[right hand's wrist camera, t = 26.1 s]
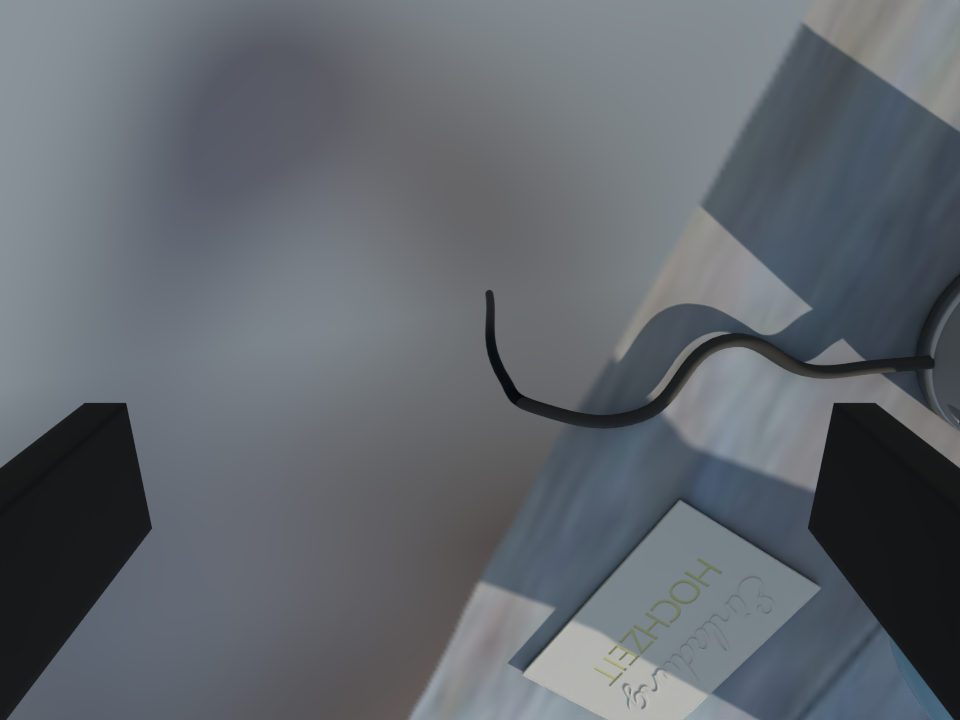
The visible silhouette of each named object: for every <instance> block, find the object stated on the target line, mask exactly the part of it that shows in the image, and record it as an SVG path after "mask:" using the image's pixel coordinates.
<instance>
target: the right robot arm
mask: <svg viewBox="0 0 960 720" xmlns="http://www.w3.org/2000/svg"><path fill="white" fill-rule="evenodd" d="M485 296H486V324H485V340H486V348H487V354H488V357H489V360H490V363H491V366H492V368H493V370H494V373H495V375H496V376H497V378H498V380H499V382H500V384H501V386H502V388H503V390H504V392H505V394H506V396H507V397H508V399H509V400H510V401H511V402H512V403H513V404H514V405H515V406H517V407H519V408H521V409H523V410H525V411H528V412H531V413H534V414H537V415H540V416H544V417H547V418H550V419H553V420H557V421H560V422H564V423H568V424H572V425H577V426H583V427H590V428H617V427H624V426H628V425H633V424H636V423H640V422H643V421H645V420H648V419H650V418H652V417H654V416H655V415H657V414H658V413H660V412H661V411H663V410H664V409H665V408H666V407H667V406H668V405H669V404H670V403H671V402H672V401H673V400H674V398H675V397H676V396H677V395H678V393H679V392H680V391H681V389H682V388H683V386H684V385H685V383H686V382H687V381H688V379H689V378H690V376H691V375H692V373H693V372H694V371H695V370H696V368H697V367H698V366H699V365H700V364H701V363H702V362H703V361H704V360H705V359H706V358H707V357H708V356H710V355H711V354H713V353H715V352H717V351H719V350H722V349H725V348H730V347H745V348H749V349H751V350H754V351H756V352H758V353H760V354H761V355H763V356H765V357H766V358H768V359H769V360H771V361H772V362H774V363H775V364H777V365H779V366H780V367H782V368H784V369H786V370H788V371H790V372H792V373H795V374H798V375H801V376H806V377H812V378H823V379H830V378H843V377H851V376H858V375H865V374H875V373H887V372H900V371H912V370H917V375H918V380H919V385H920V388H921V391H922V393H923V395H924V397H925V399H926V401H927V403H928V404H929V406H930V407H931V408H932V410H933V411H934V412H935V413H936V414H937V415H938V416H939V417H940V418H941V419H943V420H944V421H945V422H947V423H948V424H950V425H951V426H952V427H954V428H955V429H957V430H958V431H960V276H959V277H958V278H957V279H956V280H955V281H954V282H953V283H952V284H951V285H950V286H949V287H948V289H947V290H946V291H945V292H944V294H943V295H942V296H941V297H940V299H939V300H938V302H937V303H936V305H935V306H934V308H933V310H932V311H931V313H930V315H929V317H928V319H927V321H926V324H925V326H924V328H923V331H922V334H921V337H920V341H919V345H918V352H917V357H905V358H893V359H881V360H869V361H860V362H853V363H846V364H839V365H813V364H807V363H804V362H801V361H799V360H796V359H794V358H792V357H791V356H789V355H787V354H786V353H784V352H782V351H781V350H779V349H778V348H776V347H775V346H773V345H772V344H770V343H768V342H767V341H765V340H763V339H761V338H758V337H755V336H752V335H748V334H739V333H732V334H725V335H721V336H718V337H715V338H712V339H710V340H708V341H706V342H705V343H703V344H701V345H700V346H699V347H698V348H696V349H695V350H694V351H693V352H692V353H691V354H690V355H689V356H688V357H687V358H686V360H685V361H684V362H683V364H682V365H681V366H680V368H679V369H678V371H677V372H676V374H675V375H674V377H673V378H672V379H671V381H670V382H669V384H668V385H667V386H666V388H665V389H664V390H663V391H662V393H661V394H660V395H659V396H658V397H657V398H656V399H655V400H654V401H652V402H651V403H649V404H648V405H646V406H644V407H642V408H639V409H637V410H634V411H630V412H626V413H621V414H614V415H591V414H584V413H578V412H574V411H570V410H566V409H562V408H558V407H555V406H552V405H548V404H545V403H542V402H538V401H535V400H532V399H530V398H528V397H526V396H524V395H522V394H521V393H520V392H518V390H517V389H516V387H515V385H514V383H513V381H512V380H511V378H510V376H509V375H508V373H507V372H506V370H505V368H504V366H503V363H502V361H501V359H500V356H499V353H498V350H497V345H496V339H495V301H494V294H493V291H491V290H487V291H486V293H485ZM151 529H152V526H151V521H150V516H149V511H148V506H147V502H146V497H145V492H144V487H143V482H142V478H141V473H140V468H139V463H138V458H137V453H136V449H135V444H134V439H133V434H132V429H131V424H130V420H129V415H128V410H127V405H126V403H84V404H83V405H82V406H80V407H79V408H78V409H76V410H75V411H74V412H72V413H71V414H70V415H69V416H67V417H66V418H65V419H63V420H62V421H61V422H60V423H58V424H57V425H56V426H54V427H53V428H52V429H50V430H49V431H48V432H47V433H45V434H44V435H43V436H42V437H40V438H39V439H38V440H36V441H35V442H34V443H32V444H31V445H30V446H28V447H27V448H26V449H25V450H23V451H22V452H21V453H19V454H18V455H17V456H16V457H14V458H13V459H12V460H10V461H9V462H8V463H7V464H5V465H4V466H3V467H1V468H0V720H6V719H7V718H8V717H9V716H10V714H11V713H12V712H13V710H14V709H15V708H16V706H17V705H18V704H19V702H20V701H21V700H22V698H23V697H24V696H25V694H26V693H27V692H28V691H29V689H30V688H31V687H32V685H33V684H34V683H35V681H36V680H37V679H38V677H39V676H40V675H41V674H42V672H43V671H44V670H45V668H46V667H47V666H48V664H49V663H50V662H51V660H52V659H53V658H54V656H55V655H56V654H57V652H58V651H59V650H60V648H61V647H62V646H63V645H64V643H65V642H66V641H67V639H68V638H69V637H70V635H71V634H72V633H73V631H74V630H75V629H76V628H77V626H78V625H79V624H80V622H81V621H82V620H83V618H84V617H85V616H86V614H87V613H88V612H89V610H90V609H91V608H92V607H93V605H94V604H95V603H96V601H97V600H98V599H99V597H100V596H101V595H102V593H103V592H104V591H105V589H106V588H107V587H108V585H109V584H110V583H111V582H112V580H113V579H114V578H115V576H116V575H117V574H118V572H119V571H120V570H121V568H122V567H123V566H124V564H125V563H126V562H127V561H128V559H129V558H130V557H131V555H132V554H133V553H134V551H135V550H136V549H137V547H138V546H139V545H140V544H141V542H142V541H143V540H144V538H145V537H146V536H147V534H148V533H149V532H150V530H151ZM808 529H809V530H810V532H811V533H812V534H813V536H814V537H815V538H816V540H817V541H818V542H819V544H820V545H821V546H822V547H823V549H824V550H825V551H826V553H827V554H828V555H829V557H830V558H831V559H832V561H833V562H834V563H835V565H836V566H837V567H838V568H839V570H840V571H841V572H842V574H843V575H844V576H845V578H846V579H847V580H848V582H849V583H850V584H851V586H852V587H853V588H854V589H855V591H856V592H857V593H858V595H859V596H860V597H861V599H862V600H863V601H864V603H865V604H866V605H867V607H868V608H869V609H870V610H871V612H872V613H873V614H874V616H875V617H876V618H877V620H878V621H879V622H880V624H881V625H882V626H883V628H884V629H885V630H886V631H887V633H888V634H889V635H890V644H891V648H892V652H893V654H894V657H895V660H896V662H897V665H898V667H899V669H900V671H901V673H902V675H903V677H904V678H905V680H906V682H907V684H908V686H909V687H910V689H911V691H912V692H913V694H914V696H915V697H916V699H917V700H918V702H919V703H920V705H921V706H922V708H923V709H924V711H925V712H926V713H927V715H928V716H929V718H930V719H931V720H960V468H959V467H957V466H956V465H955V464H954V463H952V462H951V461H950V460H948V459H947V458H946V457H944V456H943V455H942V454H941V453H939V452H938V451H937V450H935V449H934V448H933V447H932V446H930V445H929V444H928V443H926V442H925V441H924V440H922V439H921V438H920V437H919V436H917V435H916V434H915V433H913V432H912V431H911V430H910V429H908V428H907V427H906V426H904V425H903V424H902V423H900V422H899V421H898V420H897V419H895V418H894V417H893V416H891V415H890V414H889V413H888V412H886V411H885V410H884V409H882V408H881V407H880V406H878V405H877V404H876V403H834V405H833V410H832V415H831V420H830V424H829V429H828V434H827V439H826V444H825V449H824V453H823V458H822V463H821V468H820V473H819V478H818V482H817V487H816V492H815V497H814V502H813V506H812V511H811V516H810V521H809V526H808Z"/></svg>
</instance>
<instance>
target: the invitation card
mask: <svg viewBox="0 0 960 720" xmlns="http://www.w3.org/2000/svg"><path fill="white" fill-rule="evenodd" d="M820 589H821V587H820V586H818V585H817V584H815V583H813V582H812V581H810V580H809V579H807V578H805V577H804V576H802V575H801V574H799V573H797V572H796V571H794V570H793V569H791V568H789V567H788V566H786V565H785V564H783V563H781V562H780V561H778V560H776V559H775V558H773V557H772V556H770V555H768V554H767V553H765V552H764V551H762V550H760V549H759V548H757V547H756V546H754V545H752V544H751V543H749V542H748V541H746V540H744V539H743V538H741V537H739V536H738V535H736V534H735V533H733V532H731V531H730V530H728V529H727V528H725V527H723V526H722V525H720V524H719V523H717V522H715V521H714V520H712V519H711V518H709V517H707V516H706V515H704V514H703V513H701V512H699V511H698V510H696V509H694V508H693V507H691V506H690V505H688V504H686V503H685V502H683V501H682V500H679V501H678V502H677V503H676V504H675V505H674V506H673V507H672V508H671V510H670V511H669V512H668V513H667V514H666V515H665V516H664V517H663V518H662V519H661V521H660V522H659V523H658V524H657V525H656V526H655V527H654V528H653V529H652V530H651V532H650V533H649V534H648V535H647V536H646V537H645V538H644V539H643V540H642V541H641V543H640V544H639V545H638V546H637V547H636V548H635V549H634V550H633V551H632V553H631V554H630V555H629V556H628V557H627V558H626V559H625V560H624V561H623V562H622V564H621V565H620V566H619V567H618V568H617V569H616V570H615V571H614V572H613V573H612V575H611V576H610V577H609V578H608V579H607V580H606V581H605V582H604V583H603V584H602V586H601V587H600V588H599V589H598V590H597V591H596V592H595V593H594V594H593V596H592V597H591V598H590V599H589V600H588V601H587V602H586V603H585V604H584V605H583V607H582V608H581V609H580V610H579V611H578V612H577V613H576V614H575V615H574V616H573V618H572V619H571V620H570V621H569V622H568V623H567V624H566V625H565V626H564V627H563V629H562V630H561V631H560V632H559V633H558V634H557V635H556V636H555V637H554V638H553V640H552V641H551V642H550V643H549V644H548V645H547V646H546V647H545V648H544V650H543V651H542V652H541V653H540V654H539V655H538V656H537V657H536V658H535V659H534V661H533V662H532V663H531V664H530V665H529V666H528V667H527V668H526V669H525V670H524V672H523V673H522V675H523V676H525V677H527V678H529V679H531V680H532V681H534V682H536V683H538V684H540V685H542V686H544V687H546V688H548V689H550V690H552V691H554V692H555V693H557V694H559V695H561V696H563V697H565V698H567V699H569V700H571V701H573V702H575V703H577V704H578V705H580V706H582V707H584V708H586V709H588V710H590V711H592V712H594V713H596V714H598V715H599V716H601V717H603V718H605V719H607V720H683V719H684V718H685V717H686V716H688V715H689V714H690V713H691V712H692V711H693V710H694V709H695V708H696V707H697V706H698V705H699V704H700V703H701V702H702V701H703V700H704V699H705V698H707V697H708V696H709V695H710V694H711V693H712V692H713V691H714V690H715V689H716V688H717V687H718V686H719V685H720V684H721V683H722V682H723V681H724V680H725V679H727V678H728V677H729V676H730V675H731V674H732V673H733V672H734V671H735V670H736V669H737V668H738V667H739V666H740V665H741V664H742V663H743V662H744V661H745V660H747V659H748V658H749V657H750V656H751V655H752V654H753V653H754V652H755V651H756V650H757V649H758V648H759V647H760V646H761V645H762V644H763V643H764V642H765V641H767V640H768V639H769V638H770V637H771V636H772V635H773V634H774V633H775V632H776V631H777V630H778V629H779V628H780V627H781V626H782V625H783V624H784V623H785V622H787V621H788V620H789V619H790V618H791V617H792V616H793V615H794V614H795V613H796V612H797V611H798V610H799V609H800V608H801V607H802V606H803V605H804V604H806V603H807V602H808V601H809V600H810V599H811V598H812V597H813V596H814V595H815V594H816V593H817V592H818V591H819V590H820Z"/></svg>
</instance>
